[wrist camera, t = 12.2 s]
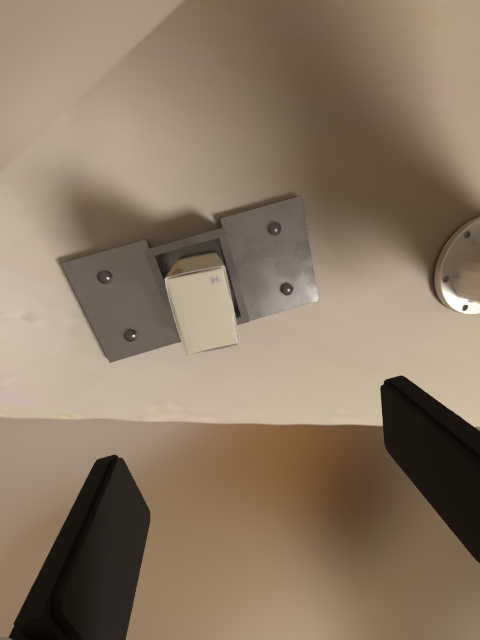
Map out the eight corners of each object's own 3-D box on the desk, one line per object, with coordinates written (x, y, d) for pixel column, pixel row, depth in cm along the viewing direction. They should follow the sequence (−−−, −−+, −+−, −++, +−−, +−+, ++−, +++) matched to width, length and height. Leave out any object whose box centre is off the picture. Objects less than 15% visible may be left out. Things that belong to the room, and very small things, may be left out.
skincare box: (177, 257, 29) (160, 272, 17) (216, 249, 29) (224, 259, 18) (191, 312, 31) (184, 358, 19) (227, 304, 31) (241, 346, 20)
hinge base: (298, 196, 29) (310, 192, 26) (315, 298, 33) (328, 306, 30) (64, 262, 28) (45, 266, 25) (112, 359, 32) (101, 374, 29)
